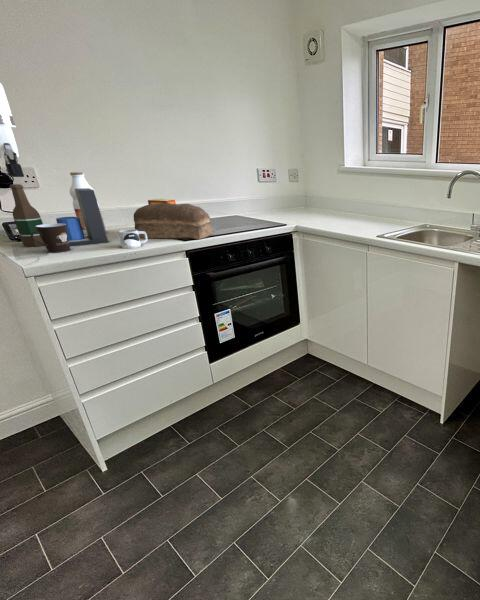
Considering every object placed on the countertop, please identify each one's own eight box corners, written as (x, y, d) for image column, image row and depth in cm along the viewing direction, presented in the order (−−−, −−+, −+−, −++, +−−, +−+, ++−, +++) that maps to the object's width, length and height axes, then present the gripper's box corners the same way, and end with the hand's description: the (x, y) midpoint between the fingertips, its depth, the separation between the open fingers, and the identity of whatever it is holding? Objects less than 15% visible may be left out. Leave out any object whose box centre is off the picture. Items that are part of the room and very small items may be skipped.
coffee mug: (68, 247, 144) (61, 222, 140) (77, 250, 139) (69, 225, 136) (30, 252, 134) (20, 226, 131) (38, 255, 130) (29, 229, 126)
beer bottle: (50, 242, 150) (30, 183, 142) (49, 245, 145) (28, 185, 136) (24, 244, 146) (2, 183, 137) (22, 248, 140) (-1, 185, 131)
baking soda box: (180, 230, 184) (174, 198, 179) (173, 232, 178) (166, 200, 173) (163, 229, 185) (156, 198, 179) (154, 231, 178) (147, 199, 173)
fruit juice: (94, 235, 165) (76, 172, 155) (76, 234, 166) (57, 172, 156) (111, 232, 174) (95, 172, 164) (94, 231, 175) (77, 171, 165)
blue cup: (63, 241, 145) (56, 219, 142) (61, 238, 150) (54, 217, 147) (86, 239, 150) (79, 218, 147) (83, 236, 155) (77, 216, 152)
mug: (126, 249, 144) (121, 232, 142) (118, 246, 147) (114, 230, 145) (152, 245, 152) (149, 229, 149) (145, 242, 155) (141, 227, 153)
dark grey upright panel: (59, 247, 143) (41, 191, 135) (55, 242, 151) (38, 189, 143) (108, 242, 154) (94, 190, 146) (103, 237, 162) (89, 188, 154)
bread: (203, 240, 164) (197, 205, 159) (132, 238, 162) (123, 203, 157) (216, 234, 178) (211, 202, 172) (151, 232, 176) (144, 200, 170)
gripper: (-20, 121, 118) (-1, 174, 124) (-19, 118, 108) (1, 177, 114) (12, 123, 124) (29, 175, 130) (16, 121, 113) (34, 177, 119)
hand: (16, 176), depth 122 cm, fingers open, 9 cm apart
